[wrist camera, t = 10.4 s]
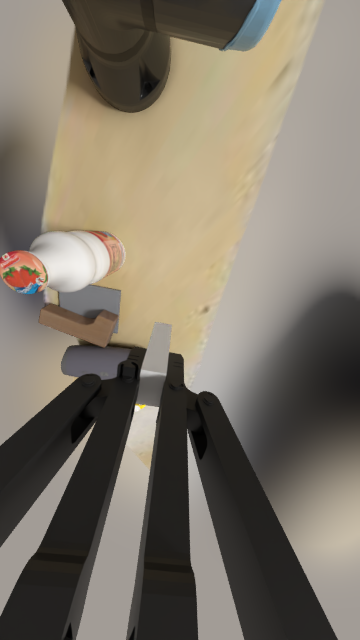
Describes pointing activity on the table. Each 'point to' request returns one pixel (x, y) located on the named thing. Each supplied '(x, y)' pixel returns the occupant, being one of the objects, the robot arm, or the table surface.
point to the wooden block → (80, 324)
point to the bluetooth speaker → (93, 360)
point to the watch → (138, 407)
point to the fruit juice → (62, 261)
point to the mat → (92, 301)
